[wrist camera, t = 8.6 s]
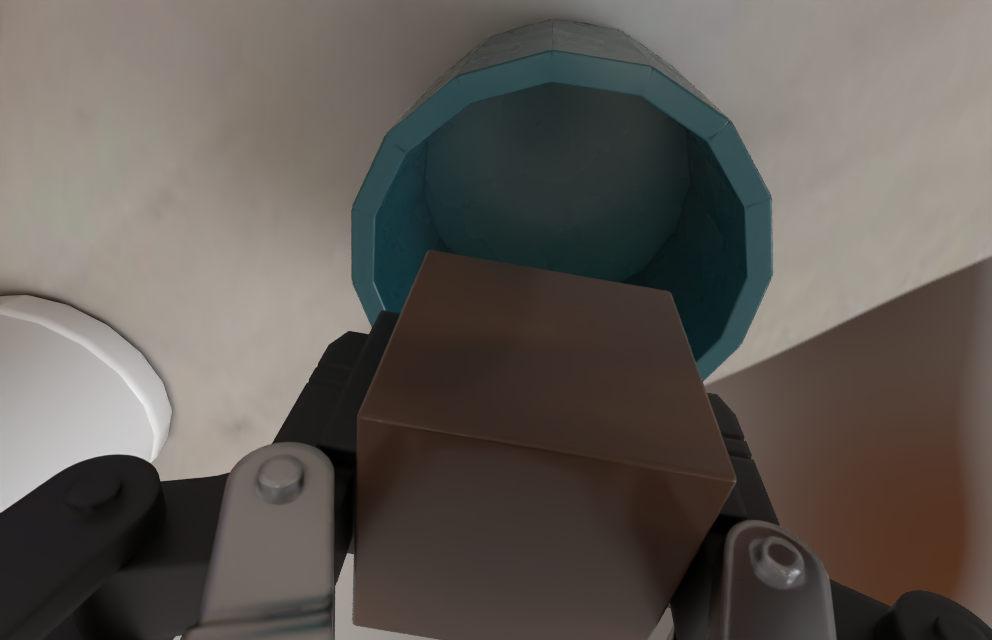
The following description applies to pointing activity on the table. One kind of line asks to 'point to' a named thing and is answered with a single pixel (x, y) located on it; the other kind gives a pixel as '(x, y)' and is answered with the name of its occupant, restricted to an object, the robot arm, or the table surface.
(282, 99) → the table surface
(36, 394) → the bottle
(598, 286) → the block
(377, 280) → the tin
